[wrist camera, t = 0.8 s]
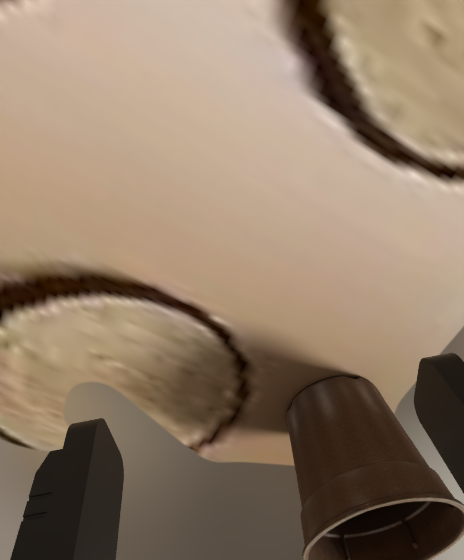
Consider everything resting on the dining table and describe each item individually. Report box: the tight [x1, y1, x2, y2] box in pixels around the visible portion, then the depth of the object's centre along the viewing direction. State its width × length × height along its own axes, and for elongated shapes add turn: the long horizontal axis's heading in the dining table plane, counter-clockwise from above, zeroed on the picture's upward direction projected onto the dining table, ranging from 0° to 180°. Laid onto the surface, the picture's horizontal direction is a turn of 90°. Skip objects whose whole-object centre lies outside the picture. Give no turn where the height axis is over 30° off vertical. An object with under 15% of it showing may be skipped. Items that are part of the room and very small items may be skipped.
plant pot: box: [286, 376, 464, 560], centre depth 46 cm, size 16×16×16 cm
